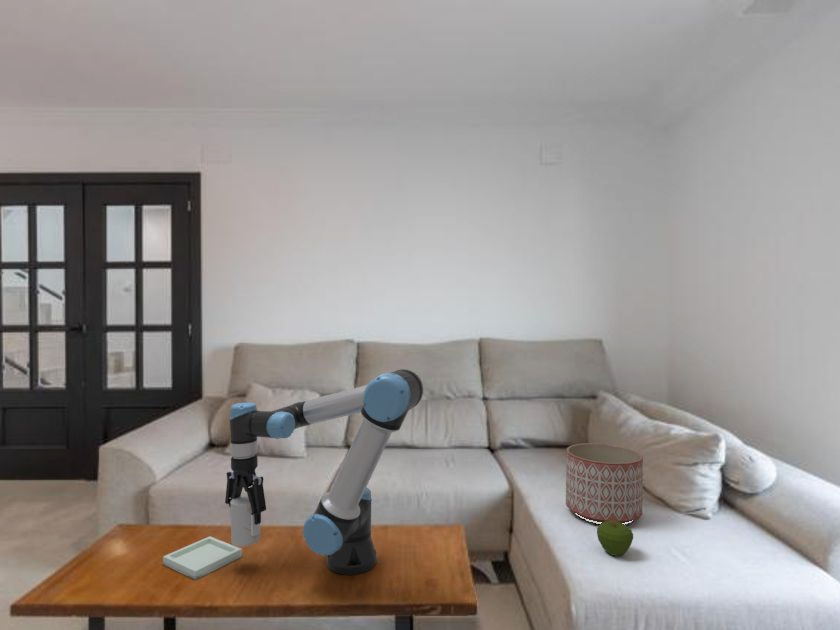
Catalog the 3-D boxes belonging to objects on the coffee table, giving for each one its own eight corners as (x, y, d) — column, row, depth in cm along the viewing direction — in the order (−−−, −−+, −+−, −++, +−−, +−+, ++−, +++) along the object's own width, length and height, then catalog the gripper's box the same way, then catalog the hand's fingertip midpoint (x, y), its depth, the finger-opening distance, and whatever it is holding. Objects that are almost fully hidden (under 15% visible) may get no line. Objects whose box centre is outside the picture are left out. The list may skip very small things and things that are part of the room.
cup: (251, 547, 146) (250, 506, 146) (225, 545, 147) (224, 504, 147) (265, 535, 154) (264, 495, 153) (241, 533, 155) (240, 494, 155)
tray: (241, 556, 157) (241, 548, 157) (195, 580, 144) (195, 571, 144) (209, 543, 166) (209, 536, 166) (163, 564, 152) (163, 556, 152)
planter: (647, 510, 196) (648, 449, 196) (635, 536, 173) (636, 468, 173) (576, 495, 211) (577, 439, 211) (556, 518, 188) (557, 455, 187)
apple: (591, 553, 161) (591, 522, 161) (604, 542, 169) (605, 512, 169) (625, 565, 154) (625, 533, 154) (638, 553, 161) (638, 522, 161)
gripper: (278, 456, 148) (279, 534, 148) (232, 447, 159) (233, 519, 159) (257, 463, 142) (259, 544, 142) (211, 453, 153) (212, 528, 153)
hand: (245, 531), depth 150 cm, fingers closed on cup, 8 cm apart
